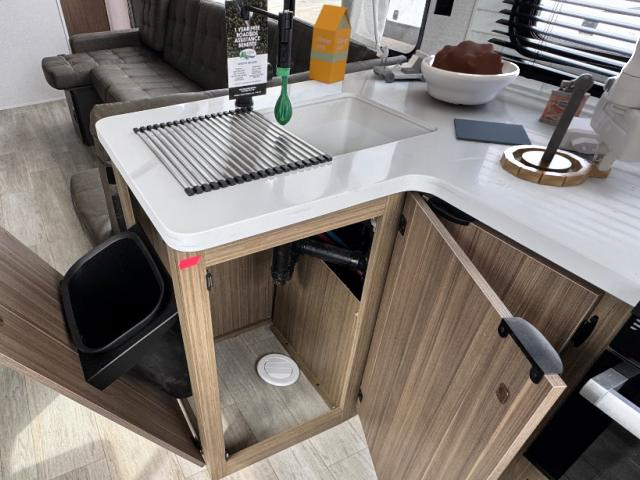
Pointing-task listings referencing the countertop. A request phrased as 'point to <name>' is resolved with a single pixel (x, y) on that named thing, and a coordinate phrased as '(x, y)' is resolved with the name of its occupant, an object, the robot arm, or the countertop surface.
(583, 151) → the charger
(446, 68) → the white bowl of dough
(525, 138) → the mat
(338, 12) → the orange juice
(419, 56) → the toy car
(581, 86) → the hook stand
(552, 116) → the lighter
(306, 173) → the countertop surface
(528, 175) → the ring
